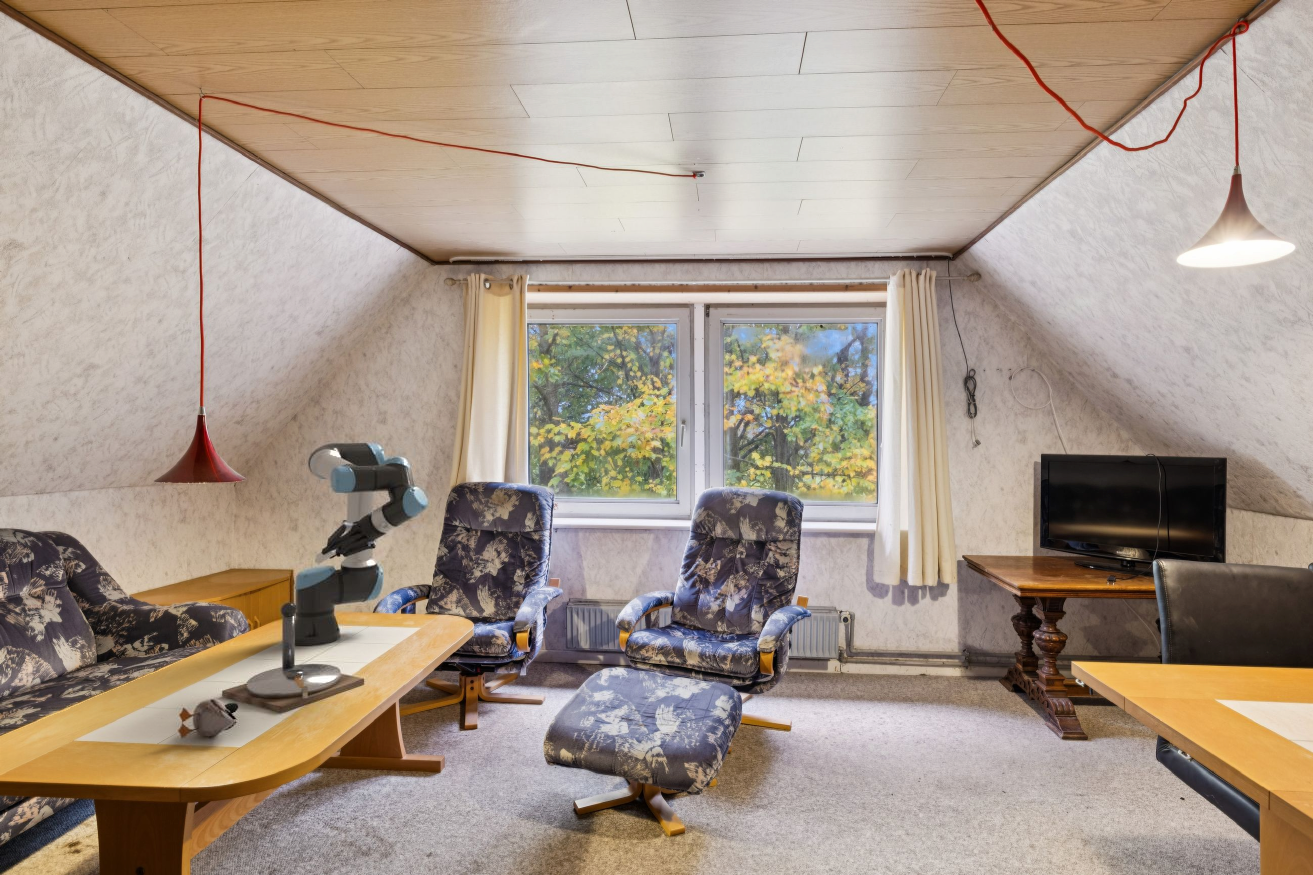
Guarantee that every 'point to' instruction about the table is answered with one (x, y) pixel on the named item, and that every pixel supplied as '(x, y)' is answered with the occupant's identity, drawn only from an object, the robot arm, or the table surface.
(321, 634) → the robot arm
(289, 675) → the dial
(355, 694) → the table surface
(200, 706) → the decorative duck model
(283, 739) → the table surface
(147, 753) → the table surface
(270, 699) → the walnut stand board
